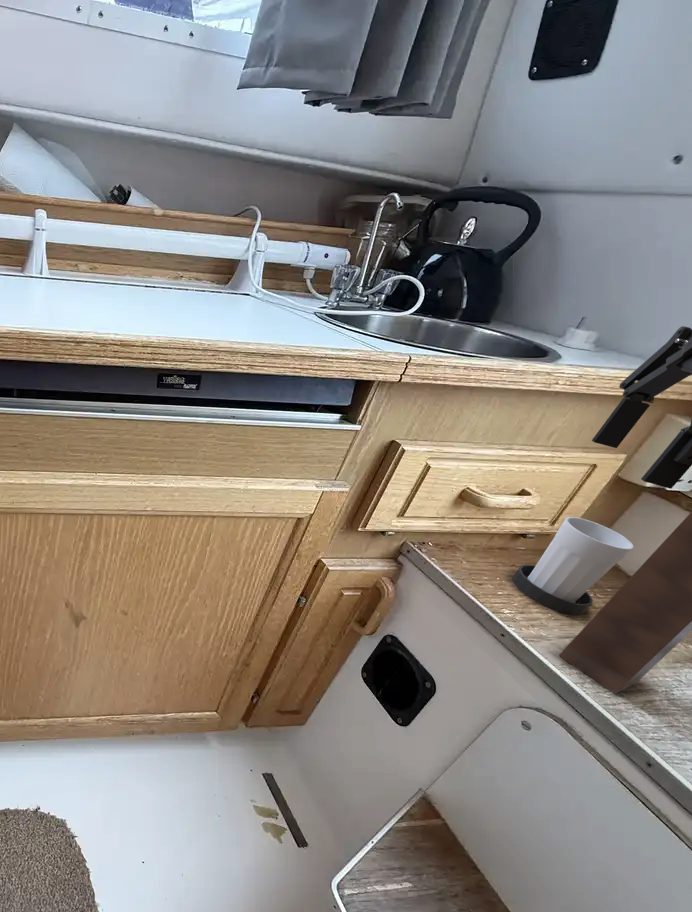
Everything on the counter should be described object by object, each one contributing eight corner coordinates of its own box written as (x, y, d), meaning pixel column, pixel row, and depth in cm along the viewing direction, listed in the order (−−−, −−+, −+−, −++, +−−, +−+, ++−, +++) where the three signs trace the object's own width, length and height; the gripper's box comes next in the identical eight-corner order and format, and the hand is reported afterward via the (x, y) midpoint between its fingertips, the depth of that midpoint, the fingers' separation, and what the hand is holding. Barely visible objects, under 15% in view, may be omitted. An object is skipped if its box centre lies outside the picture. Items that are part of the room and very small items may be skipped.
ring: (575, 592, 89) (583, 582, 88) (591, 624, 81) (600, 614, 80) (508, 566, 92) (515, 557, 91) (517, 595, 85) (525, 585, 84)
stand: (636, 682, 71) (863, 469, 55) (614, 694, 69) (846, 474, 53) (580, 645, 76) (774, 440, 60) (558, 655, 73) (754, 443, 57)
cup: (573, 618, 82) (630, 555, 76) (512, 586, 87) (561, 524, 81) (582, 600, 87) (636, 539, 81) (523, 571, 92) (570, 511, 85)
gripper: (660, 276, 72) (557, 423, 83) (804, 302, 51) (642, 493, 62) (730, 290, 70) (616, 438, 81) (910, 322, 50) (724, 516, 60)
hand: (627, 462), depth 71 cm, fingers open, 13 cm apart
